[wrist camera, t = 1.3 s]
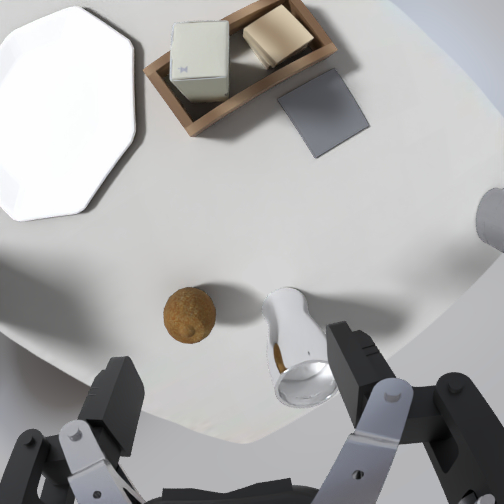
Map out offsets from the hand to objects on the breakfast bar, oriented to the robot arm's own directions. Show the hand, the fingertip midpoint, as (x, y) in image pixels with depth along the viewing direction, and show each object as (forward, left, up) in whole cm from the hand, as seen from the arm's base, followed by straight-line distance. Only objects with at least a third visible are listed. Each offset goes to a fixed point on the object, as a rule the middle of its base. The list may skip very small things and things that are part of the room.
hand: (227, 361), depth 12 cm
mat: (-16, -4, -26) cm, 31 cm away
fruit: (+10, +7, -26) cm, 29 cm away
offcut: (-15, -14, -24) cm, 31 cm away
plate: (+12, -25, -27) cm, 39 cm away
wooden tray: (-11, -14, -26) cm, 31 cm away
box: (-7, -14, -26) cm, 30 cm away
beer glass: (+1, +15, -26) cm, 30 cm away
